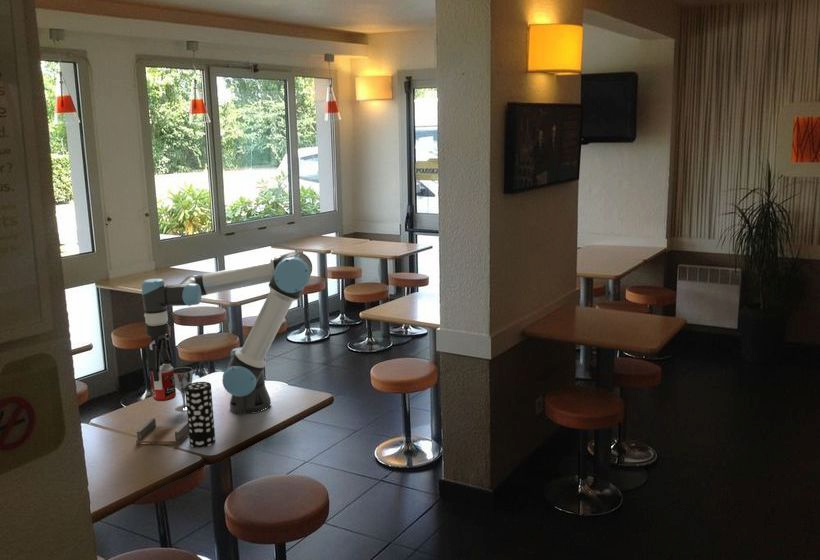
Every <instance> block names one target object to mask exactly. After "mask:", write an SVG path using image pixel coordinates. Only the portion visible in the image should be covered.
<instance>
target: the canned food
mask: <svg viewBox="0 0 820 560" xmlns="http://www.w3.org/2000/svg"><path fill="white" fill-rule="evenodd" d="M173 369H174V367H173V366H172V365H171V366H169V365H160V370H159V371H161V377H162V386H163V389H162V390H154V381H153V372H149V373H150V381H151V382H150V383H151V391H152V398H153V400H154V401H156V402H168V401H171V400H174V399H175V398H176V396H177V388H175V379H174V370H173Z"/></svg>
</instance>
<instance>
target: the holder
mask: <svg viewBox="0 0 820 560" xmlns="http://www.w3.org/2000/svg"><path fill="white" fill-rule="evenodd" d="M156 422H157V421H156V417H155V418H154V417H153V418H152V417H151V419H149V420H148V421H147V422H146V423H145V424H144V425H142V427H141V428H140V429H138V430H137V431H136V435H137V437H136V438H137V439H136V440H135V442H136V443H154V444H153V445H164V444H166V446H167V445H173V446H175V445H176V446H179V445H182V443H183V442H185V440H186V439H187V438H188V437H189V429H188V419H187V420H185V422H184V423H182V424H181V425H179V426H177V425H157V423H156Z"/></svg>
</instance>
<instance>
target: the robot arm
mask: <svg viewBox="0 0 820 560" xmlns="http://www.w3.org/2000/svg"><path fill="white" fill-rule="evenodd" d="M312 272H313V263H312V261H311V259H310V258H309V256H308V255H307V254H305V253H303V252H301V251H291V252H288V253H285V254H281V255H278V256H273V257H272V258H271V260H267V261H262V262H257V263H253V264H247V265H243V266H242V265H241V266H238V267H234V268H233V267H232V268H229V269H223V270H218V271H214V272H209V273H204V274H200V275H199V274H198V275H195V274H193V275H190V276H187V277H185V278H184V279H183V281H181V282H180V283H176V284H174V283H173V284H165V280H164V279H163V278H149V279H145V280H143V281H142V283H141V295H142V305H143V310H144V311H143V312H144V314H143V317H144V320H145V324H146V325H145V330H146V335H147V336H149V337H150V339H151V340H150V343H148V344H146V347H147V352H148V353H147V356H148V357H147V358H148V372H149V373H150V372H153V381H154V390H162V389H163V386H162V377H161V371H159V370H160V366H162V365H169V366H172V365H171V364H173V363H174V358H173V349H172V346H171V345H172V344H171V335H170V334H168V333H170V325H169V323H168V322H169V317H168V315H169V314H168V308H167V307H179V306H180V307H181V306H189V307H191V306H196V305H199V304H200V303H201V302H202V301H201V300H202V297H203V296H207V295H212V294H217V293H221V292H226V291H231V290H235V289H241V288H246V287H251V286H256V285H262V284H266V283H268V287H269V292H268V295H267V297H266V298H265V301H264V303H263V305H262V307H261V309H260V310H259V313H258V315H257V317H256V319H255V320H254V323H253V325H252V327H251V330H250V331H249V333H248V336H247V337H246V339H245V342H244V344H243V346H242V347H237V348H233V349H232V350H231V351H230V362H229V364H228V366H227V368H226V370H225V371H224V372H223V375H222V381H221V382H222V385H223V388H224V389H225V391H226V392H227V393H228V394H230V396H231V397H230V401H229V409H231V410H230V411H231V412H233V413H235V412H236V414H241V413H249V414H253V413H252V412H257V413H259V412H258V411H261V410H263V409H265V408H267V407H269V406H270V404H271V405H272V401H271V397H270V395H269V392H268V390H267V386H266V381H265V380H266V379H265V367H266V361H265V358H266V356H267V354H268V352H269V350H270V348H271V346H272V344H273V342H274V340H275V338H276V336H277V333H278V332H279V330H280V328H281V326H282V324H283V322H284V319H285V317H286V316H287V314H288V312H289V310H290V308H291V306H292V304H293V303H294V301H298V300H300V298H301V295H302V294H303V292H304V290H305V288H306V286H307V285H308V283H309V281H310V279H311V276H312ZM161 359H162V362H163V363H162V365H161ZM270 407H271V406H270ZM270 407H269V408H270ZM261 412H262V411H261Z"/></svg>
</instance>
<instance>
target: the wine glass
mask: <svg viewBox="0 0 820 560" xmlns="http://www.w3.org/2000/svg"><path fill="white" fill-rule="evenodd" d="M173 370H174V379H175V389H176V390H177V391H179V393H180V394H181V397H182V403H183V404H181V405H179V406H176V407H175V408H174V411H177V412H187V406H186V394H185V386H186V385H188V384H191V383H193V378H194V374H193V373H194V372H193V371H194V370H193V368H192V367H189V366H180V367H174V368H173Z"/></svg>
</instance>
